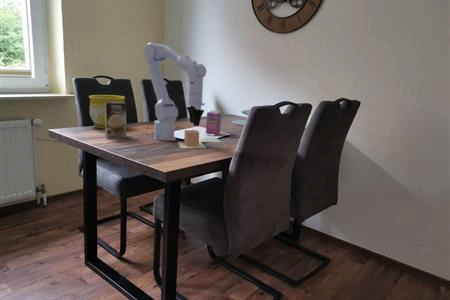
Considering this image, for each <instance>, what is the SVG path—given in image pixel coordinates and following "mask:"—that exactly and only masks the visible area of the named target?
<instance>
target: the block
mask: <svg viewBox="0 0 450 300" xmlns="http://www.w3.org/2000/svg"><path fill="white" fill-rule="evenodd" d="M199 138H200V132H199V131H198V130H197V129H196V130H194V129H193V130H191V129H189V130H188V129H185V130H184V140H183V142H184V144H185V145H186V146H199V142H200V139H199Z"/></svg>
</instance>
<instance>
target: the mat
mask: <svg viewBox="0 0 450 300" xmlns="http://www.w3.org/2000/svg"><path fill="white" fill-rule="evenodd" d="M205 138H206V139H204V140H200V142H202V143H222V141H221V140H219V139H218V137H205Z"/></svg>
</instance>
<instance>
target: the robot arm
mask: <svg viewBox="0 0 450 300" xmlns="http://www.w3.org/2000/svg"><path fill="white" fill-rule="evenodd" d="M143 52H144V53H143V54H144V57H145V60H146V67H147V70H148V73H149V78H150V81H151V83H152V87H153V89H154V90H153V91H154V94H155V97H156V100H157V102H156V103H155V105H154V109H155V110H154V113H155V117H156V119H157V120H154V122H153V123H154V124H153V125H154V128H153V129H154V130H153V137H154V140H155V141H177V139H176V138H175V126H176V125H175V124H176V123H175V122H176V121H177V118H178V117H179V109H178V107H177V106H176V104H175V102H174V101H173V100H172V99H171V98H170V96H169V93H168V89H167V86H166V83H165V80H164V76H163V73H162V70H161V66H162V65H163V63H164V62H165V61H166V59H167V58H168V59H170V60H171V61H173V62H174V63H175V64H176V67H177V68H178V69H180V70H182V71H184V72H185V73H186V75H187V77H188V83H189V84H188V87H189V88H188V103H187V104H188V106H187V107H186V109H187V111H188V116H189V121H190V122H189V123H191V124H193V126H194V127H199V126H200V123H201V120H202V116H203V114H204V112H205V110H204V109H202V106H205V105H206V103H204V102H203V89H204V88H203V87H204V77H205V76H206V75H207V69H206V66H205V65H204V64H203V63H199V64H198V63H197V60H192V59H191V58H190V56H189V55H184V54H183V55H180V54H178V53H177V52H176V51H175V50H173V49H172V48H171V47H170V46H168V45H167V44H160V43H154V42H148V43H147V44H145V47H144V50H143Z"/></svg>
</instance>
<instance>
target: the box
mask: <svg viewBox="0 0 450 300" xmlns="http://www.w3.org/2000/svg"><path fill="white" fill-rule="evenodd" d="M221 120H222V111H221V110H220V111H219V110H210V111H209V112H206V124H205V134H206V133H207V134H214V135H216V136H218V135H219V134H220V133H221V127H222V126H221V122H222V121H221ZM218 133H219V134H218ZM217 134H218V135H217Z"/></svg>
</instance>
